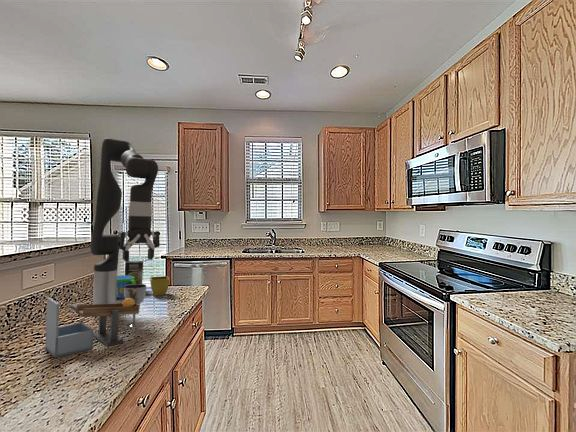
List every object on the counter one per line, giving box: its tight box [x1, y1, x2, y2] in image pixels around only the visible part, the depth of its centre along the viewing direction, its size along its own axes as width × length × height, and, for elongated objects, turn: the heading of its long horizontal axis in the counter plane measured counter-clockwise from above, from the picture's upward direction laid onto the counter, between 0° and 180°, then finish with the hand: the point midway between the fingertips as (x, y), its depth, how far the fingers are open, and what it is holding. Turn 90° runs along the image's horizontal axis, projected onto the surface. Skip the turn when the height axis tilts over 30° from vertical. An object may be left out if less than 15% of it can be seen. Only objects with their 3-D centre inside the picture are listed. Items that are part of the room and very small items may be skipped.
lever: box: [69, 302, 141, 318], centre depth 117 cm, size 14×18×3 cm
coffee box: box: [124, 260, 144, 284], centre depth 184 cm, size 9×6×16 cm
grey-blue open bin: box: [44, 297, 94, 359], centre depth 106 cm, size 10×10×16 cm
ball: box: [121, 298, 135, 307], centre depth 120 cm, size 4×4×4 cm
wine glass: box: [123, 283, 147, 329], centre depth 130 cm, size 8×8×15 cm
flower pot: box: [149, 275, 170, 297], centre depth 177 cm, size 9×9×9 cm
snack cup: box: [116, 274, 136, 299], centre depth 170 cm, size 16×10×10 cm
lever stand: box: [93, 303, 125, 347], centre depth 115 cm, size 13×5×11 cm, turn 49°
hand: (138, 260), depth 119 cm, fingers open, 8 cm apart
